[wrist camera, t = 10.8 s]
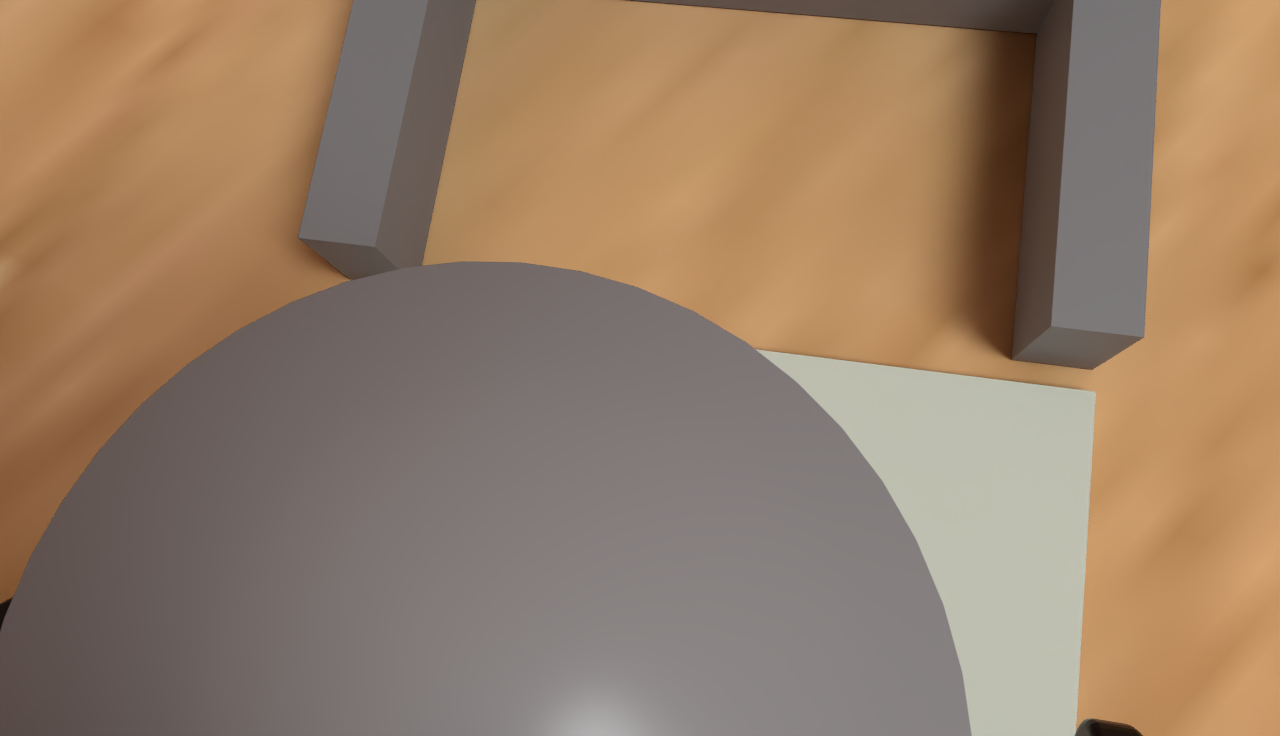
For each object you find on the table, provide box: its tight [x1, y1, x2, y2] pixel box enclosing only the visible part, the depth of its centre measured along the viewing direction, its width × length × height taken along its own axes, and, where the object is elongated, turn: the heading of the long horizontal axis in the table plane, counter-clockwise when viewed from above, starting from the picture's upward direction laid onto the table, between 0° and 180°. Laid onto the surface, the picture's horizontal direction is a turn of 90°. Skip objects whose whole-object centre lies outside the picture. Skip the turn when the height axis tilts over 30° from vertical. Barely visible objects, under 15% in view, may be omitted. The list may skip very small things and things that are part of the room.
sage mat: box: [755, 349, 1096, 736], centre depth 19 cm, size 11×15×1 cm
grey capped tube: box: [0, 261, 972, 736], centre depth 12 cm, size 5×5×14 cm
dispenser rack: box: [298, 0, 1161, 370], centre depth 19 cm, size 8×15×5 cm, turn 81°
